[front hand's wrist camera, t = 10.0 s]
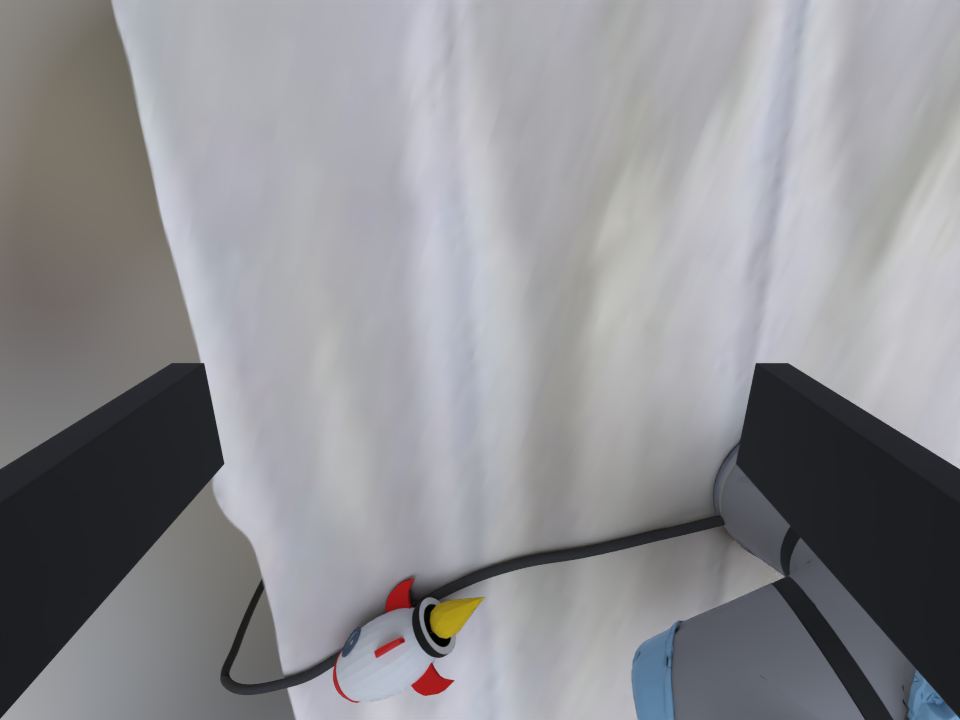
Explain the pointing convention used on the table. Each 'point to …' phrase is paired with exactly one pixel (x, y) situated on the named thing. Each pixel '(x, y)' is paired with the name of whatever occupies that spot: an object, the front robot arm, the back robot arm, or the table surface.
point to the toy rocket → (401, 647)
